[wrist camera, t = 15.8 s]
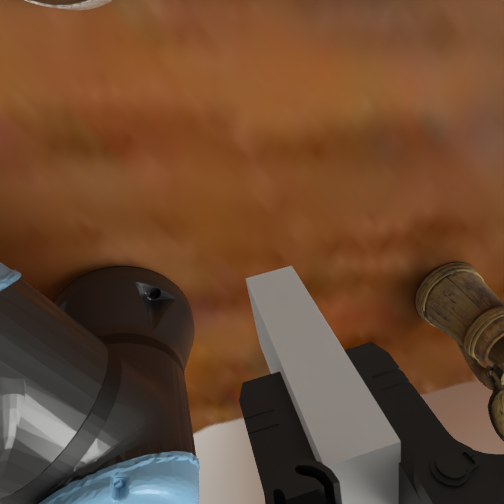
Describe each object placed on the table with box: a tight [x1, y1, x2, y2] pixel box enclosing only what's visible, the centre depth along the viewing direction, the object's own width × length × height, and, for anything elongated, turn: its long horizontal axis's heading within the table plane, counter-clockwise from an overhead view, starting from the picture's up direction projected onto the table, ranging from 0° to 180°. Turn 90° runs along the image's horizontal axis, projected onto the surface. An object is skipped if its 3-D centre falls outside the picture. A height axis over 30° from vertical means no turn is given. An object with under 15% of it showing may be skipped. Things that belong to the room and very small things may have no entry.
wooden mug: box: [415, 262, 504, 441], centre depth 50 cm, size 9×14×18 cm, turn 177°
